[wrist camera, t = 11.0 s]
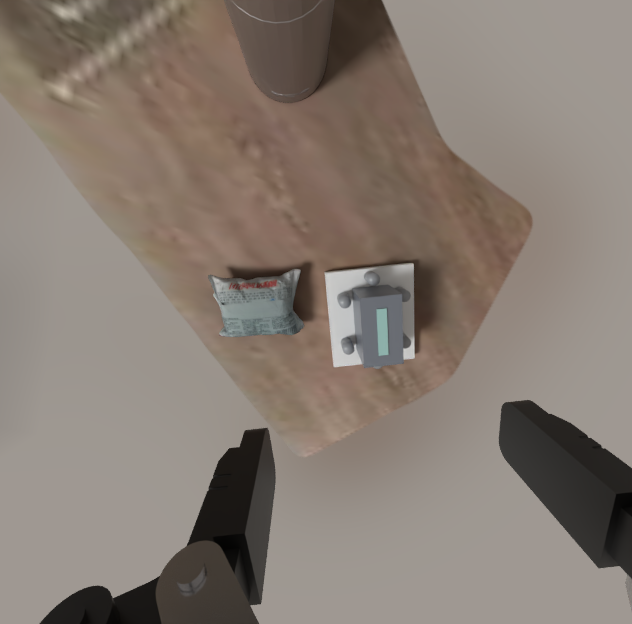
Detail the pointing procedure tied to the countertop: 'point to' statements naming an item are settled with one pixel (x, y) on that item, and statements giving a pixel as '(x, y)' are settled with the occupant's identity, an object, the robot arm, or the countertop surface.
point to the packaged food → (258, 304)
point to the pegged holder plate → (343, 312)
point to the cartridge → (378, 325)
